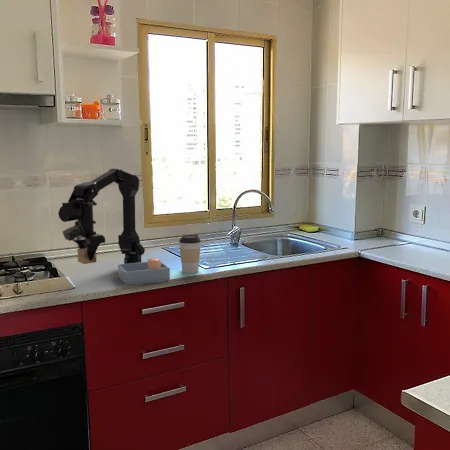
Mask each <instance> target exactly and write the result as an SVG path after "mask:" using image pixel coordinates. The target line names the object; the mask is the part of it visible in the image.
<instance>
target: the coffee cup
mask: <svg viewBox="0 0 450 450" xmlns="http://www.w3.org/2000/svg"><path fill="white" fill-rule="evenodd" d="M178 242H179V254H180V255H179V257H180V261H181V262H180V263H181V271H182V272H183V273H187V274H189V273H190V274H194V273H198V272H199V267H200V257H201V256H200V255H201V243H202V241H201V238H200V237H199V235H198V234H186V235H182V236H181V237H180V238H179V241H178Z"/></svg>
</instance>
